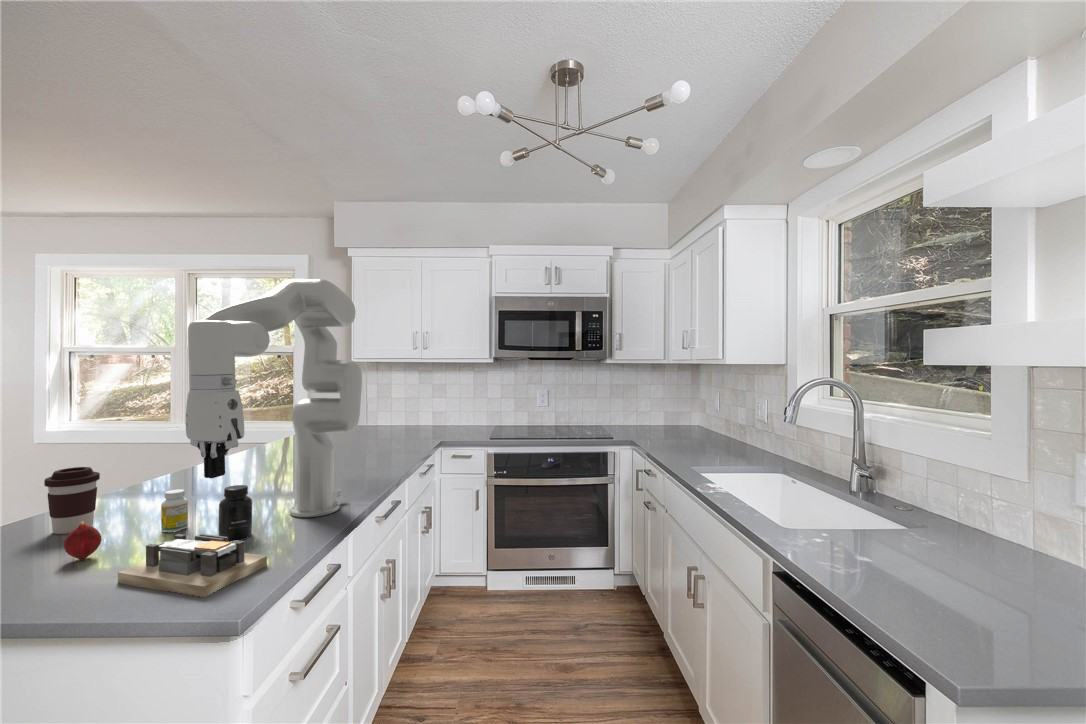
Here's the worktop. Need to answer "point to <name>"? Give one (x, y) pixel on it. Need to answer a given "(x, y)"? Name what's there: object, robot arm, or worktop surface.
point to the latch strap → (201, 546)
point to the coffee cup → (71, 498)
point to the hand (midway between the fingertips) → (214, 476)
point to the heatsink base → (191, 580)
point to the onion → (82, 541)
